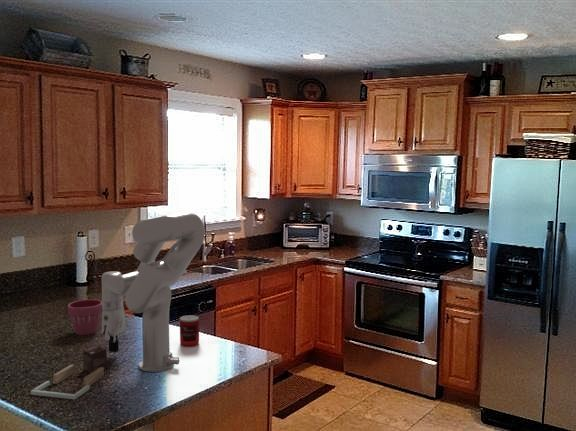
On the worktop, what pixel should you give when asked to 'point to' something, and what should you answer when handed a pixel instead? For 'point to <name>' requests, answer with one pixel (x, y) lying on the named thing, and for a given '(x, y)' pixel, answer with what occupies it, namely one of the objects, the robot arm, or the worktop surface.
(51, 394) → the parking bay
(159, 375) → the worktop surface
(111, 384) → the worktop surface
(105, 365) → the box
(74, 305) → the plant pot
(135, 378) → the worktop surface
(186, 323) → the canned food
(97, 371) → the channel
